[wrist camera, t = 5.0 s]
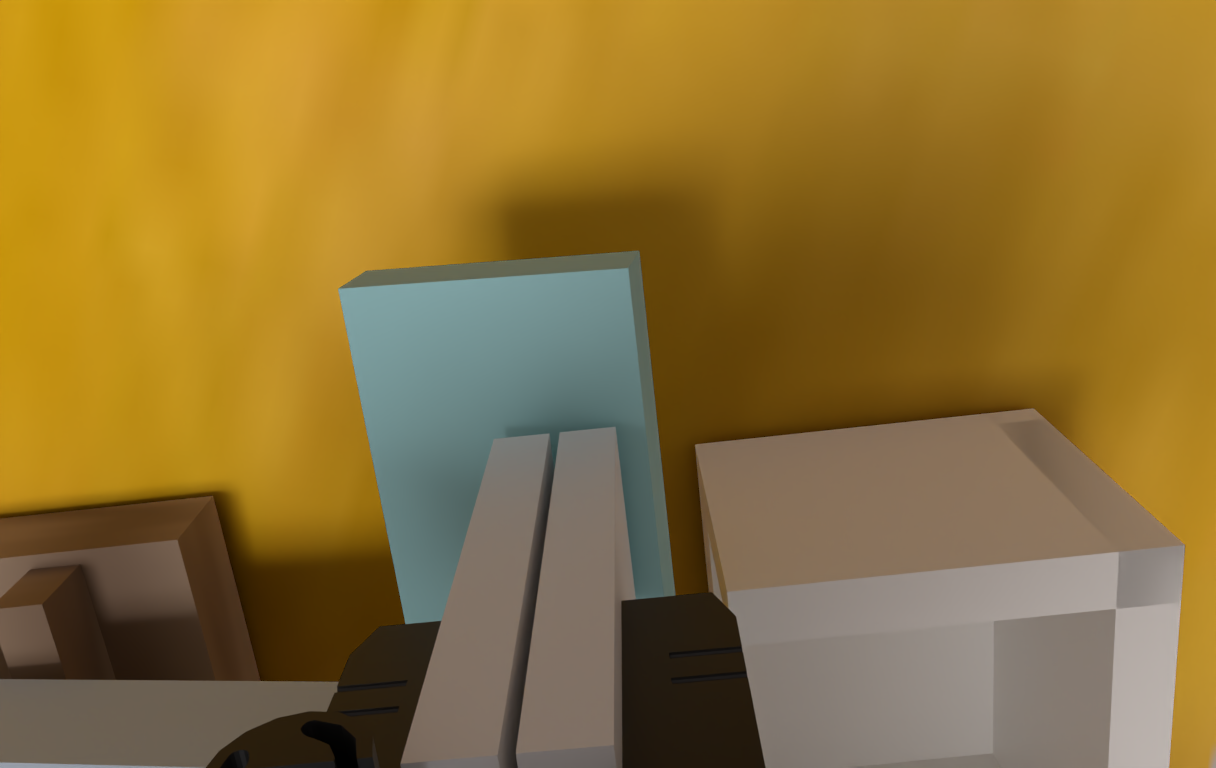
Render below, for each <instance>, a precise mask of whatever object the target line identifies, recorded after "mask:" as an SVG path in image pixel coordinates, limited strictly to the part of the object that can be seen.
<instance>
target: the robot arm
mask: <svg viewBox="0 0 1216 768" xmlns="http://www.w3.org/2000/svg"><path fill="white" fill-rule="evenodd" d="M206 768H766V767H765V762H764V757H763V752H762V747H761V742H760V737H759V731H758V726H757V721H756V716H755V711H754V706H753V701H752V696H751V690H750V685H749V680H748V677H747V670H746V665H745V660H744V654H743V652H742V644H741V639H740V634H739V629H738V624H737V618H736V616H735V615H734V614H733V613H732V612H731V611H730V610H729V609H728V608H727V607H726V606H725V605H724V604H723V603H722V602H721V601H720V600H719V599H718V598H717V597H716V596H715V595H714V594H713V593H712V592H709V593H698V594H687V595H677V596H666V597H655V598H644V599H636V596H635V588H634V579H633V571H632V562H631V554H630V545H629V537H628V528H627V520H626V511H625V503H624V494H623V486H622V477H621V469H620V460H619V452H618V444H617V435H616V427H607V428H597V429H588V430H578V431H568V432H560V434H559V441H558V449H557V456H556V463H555V470H554V463H553V456H552V449H551V442H550V434H549V433H548V434H538V435H528V436H518V437H508V438H498V439H494V440H493V444H492V447H491V451H490V454H489V458H488V461H487V465H486V468H485V472H484V475H483V478H482V482H481V485H480V489H479V492H478V496H477V499H476V503H475V506H474V510H473V513H472V517H471V520H470V524H469V527H468V531H467V534H466V538H465V541H464V544H463V548H462V551H461V555H460V558H459V562H458V565H457V569H456V572H455V576H454V579H453V583H452V586H451V590H450V593H449V597H448V600H447V603H446V607H445V610H444V614H443V617H442V621H434V622H423V623H412V624H402V625H391V626H380V627H379V628H378V629H376V630H375V631H374V632H373V633H372V634H371V635H370V636H369V637H368V638H367V639H366V640H365V641H364V642H363V643H362V644H361V645H360V646H359V647H358V648H357V649H356V650H355V651H354V652H353V653H352V654H351V655H350V656H349V659H348V661H347V663H346V666H345V668H344V671H343V673H342V676H341V678H340V680H339V683H338V685H337V692H336V693H334V695H333V697H332V700H331V702H330V704H329V707H328V709H327V712H321V711H308V712H303V713H298V714H294V715H289V716H284V717H279V718H276V719H274V720H271V721H269V722H267V723H264V724H262V725H260V726H258V727H255V728H253V729H251V730H248V731H246V732H245V733H243V734H242V735H240V736H239V737H238V738H236V739H235V740H233V741H232V742H231V743H229V744H228V745H227V746H225V747H224V748H222V749H221V750H220V751H218V753H217V754H216V755H215V757H214V758H213V759H212V760H211V762H210V763H209V764H208V765H207V767H206Z"/></svg>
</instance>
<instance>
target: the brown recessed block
mask: <svg viewBox="0 0 1216 768" xmlns="http://www.w3.org/2000/svg"><path fill="white" fill-rule="evenodd" d="M0 679H46V680H179V681H261V680H260V676H259V672H258V668H257V665H256V661H255V657H254V653H253V649H252V645H251V641H250V637H249V633H248V630H247V626H246V622H245V618H244V614H243V610H242V606H241V602H240V598H239V594H238V591H237V587H236V583H235V579H234V575H233V571H232V567H231V563H230V559H229V556H228V552H227V548H226V544H225V540H224V536H223V532H222V528H221V524H220V521H219V517H218V513H217V509H216V505H215V501H214V497H213V496H206V497H197V498H187V499H178V500H169V501H159V502H150V503H140V504H131V505H122V506H112V507H103V508H93V509H84V510H75V511H65V512H56V513H46V514H37V515H28V516H18V517H9V518H0Z"/></svg>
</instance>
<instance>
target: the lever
mask: <svg viewBox="0 0 1216 768" xmlns="http://www.w3.org/2000/svg"><path fill="white" fill-rule="evenodd" d="M338 290H339V295H340V300H341V305H342V310H343V315H344V320H345V325H346V330H347V335H348V340H349V345H350V350H351V355H352V360H353V365H354V370H355V375H356V380H357V385H358V390H359V395H360V400H361V405H362V410H363V415H364V420H365V425H366V430H367V435H368V439H369V444H370V449H371V454H372V459H373V464H374V469H375V474H376V479H377V484H378V489H379V494H380V499H381V504H382V509H383V514H384V519H385V524H386V529H387V534H388V539H389V544H390V549H391V554H392V559H393V564H394V569H395V574H396V579H397V584H398V589H399V594H400V599H401V604H402V609H403V614H404V619H405V624H412V623H423V622H434V621H442V617H443V614H444V610H445V607H446V603H447V600H448V597H449V593H450V590H451V586H452V583H453V579H454V576H455V572H456V569H457V565H458V562H459V558H460V555H461V551H462V548H463V544H464V541H465V538H466V534H467V531H468V527H469V524H470V520H471V517H472V513H473V510H474V506H475V503H476V499H477V496H478V492H479V489H480V485H481V482H482V478H483V475H484V472H485V468H486V465H487V461H488V458H489V454H490V451H491V447H492V444H493V440H494V439H498V438H508V437H518V436H528V435H538V434H548V433H549V434H550V442H551V449H552V456H553V463H554V470H555V463H556V456H557V449H558V441H559V434H560V432H568V431H578V430H588V429H597V428H607V427H616V435H617V444H618V452H619V460H620V469H621V477H622V486H623V494H624V503H625V511H626V520H627V528H628V537H629V545H630V554H631V562H632V571H633V579H634V588H635V596H636V599H644V598H655V597H666V596H675V586H674V576H673V567H672V557H671V548H670V538H669V529H668V519H667V510H666V500H665V491H664V481H663V471H662V462H661V452H660V443H659V433H658V424H657V414H656V405H655V395H654V385H653V376H652V366H651V357H650V347H649V338H648V328H647V319H646V309H645V299H644V290H643V280H642V271H641V261H640V252H639V251H628V252H614V253H601V254H587V255H574V256H560V257H547V258H534V259H520V260H507V261H493V262H480V263H466V264H453V265H440V266H426V267H413V268H399V269H386V270H372V271H365V272H364V273H362V274H361V275H359V276H358V277H356V278H354V279H353V280H351V281H350V282H348V283H347V284H345V285H343V286H342V287H340V288H339V289H338ZM338 683H339V682H312V681H179V680H46V679H0V768H206V767H207V765H208V764H209V763H210V762H211V760H212V759H213V758H214V757H215V755H216V754H217V753H218V751H220V750H221V749H222V748H224V747H225V746H227V745H228V744H229V743H231V742H232V741H233V740H235V739H236V738H238V737H239V736H240V735H242V734H243V733H245V732H246V731H248V730H251V729H253V728H255V727H258V726H260V725H262V724H264V723H267V722H269V721H271V720H274V719H276V718H279V717H284V716H289V715H294V714H298V713H303V712H308V711H321V712H327V709H328V707H329V704H330V702H331V700H332V697H333V695H334V693H336V692H337V685H338Z"/></svg>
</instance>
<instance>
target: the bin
mask: <svg viewBox="0 0 1216 768" xmlns="http://www.w3.org/2000/svg"><path fill="white" fill-rule="evenodd" d="M695 450H696V461H697V472H698V483H699V493H700V504H701V515H702V526H703V536H704V547H705V558H706V569H707V579H708V590H709V592H712V593H713V594H714V595H715V596H716V597H717V598H718V599H719V600H720V601H721V602H722V603H723V604H724V605H725V606H726V607H727V608H728V609H729V610H730V611H731V612H732V613H733V614H734V615H735V616H736V618H737V624H738V629H739V634H740V639H741V644H742V652H743V654H744V660H745V665H746V670H747V677H748V680H749V685H750V690H751V696H752V701H753V706H754V711H755V716H756V721H757V726H758V731H759V737H760V742H761V747H762V752H763V757H764V762H765V767H766V768H1169V761H1170V747H1171V733H1172V719H1173V705H1174V691H1175V677H1176V663H1177V649H1178V635H1179V621H1180V608H1181V594H1182V580H1183V566H1184V552H1185V545H1184V544H1183V543H1182V542H1181V541H1180V540H1179V539H1178V538H1177V537H1175V536H1174V535H1173V534H1172V533H1171V532H1170V531H1169V530H1168V529H1167V528H1165V527H1164V526H1163V525H1162V524H1161V523H1160V522H1159V521H1158V520H1157V519H1156V518H1154V517H1153V516H1152V515H1151V514H1150V513H1149V512H1148V511H1147V510H1146V509H1144V508H1143V507H1142V506H1141V505H1140V504H1139V503H1138V502H1137V501H1136V500H1135V499H1133V498H1132V497H1131V496H1130V495H1129V494H1128V493H1127V492H1126V491H1125V490H1123V489H1122V488H1121V487H1120V486H1119V485H1118V484H1117V483H1116V482H1115V481H1114V480H1112V479H1111V478H1110V477H1109V476H1108V475H1107V474H1106V473H1105V472H1104V471H1102V470H1101V469H1100V468H1099V467H1098V466H1097V465H1096V464H1095V463H1094V462H1093V461H1091V460H1090V459H1089V458H1088V457H1087V456H1086V455H1085V454H1084V453H1083V452H1081V451H1080V450H1079V449H1078V448H1077V447H1076V446H1075V445H1074V444H1073V443H1072V442H1070V441H1069V440H1068V439H1067V438H1066V437H1065V436H1064V435H1063V434H1062V433H1060V432H1059V431H1058V430H1057V429H1056V428H1055V427H1054V426H1053V425H1052V424H1050V423H1049V422H1048V421H1047V420H1046V419H1045V418H1044V417H1043V416H1042V415H1041V414H1039V413H1038V412H1037V411H1036V410H1035V409H1034V408H1032V409H1023V410H1014V411H1004V412H995V413H985V414H976V415H967V416H957V417H948V418H938V419H929V420H920V421H910V422H901V423H892V424H882V425H873V426H863V427H854V428H845V429H835V430H826V431H816V432H807V433H798V434H788V435H779V436H769V437H760V438H751V439H741V440H732V441H722V442H713V443H704V444H695Z"/></svg>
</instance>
